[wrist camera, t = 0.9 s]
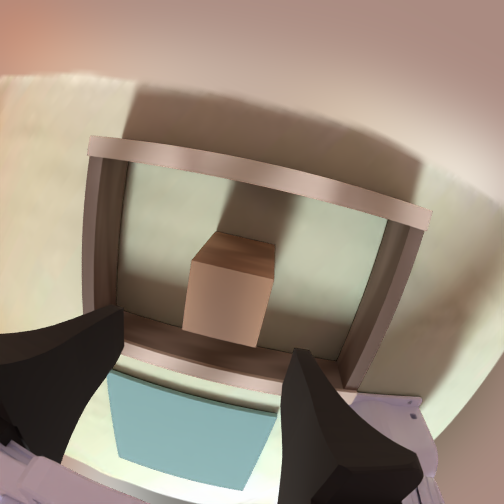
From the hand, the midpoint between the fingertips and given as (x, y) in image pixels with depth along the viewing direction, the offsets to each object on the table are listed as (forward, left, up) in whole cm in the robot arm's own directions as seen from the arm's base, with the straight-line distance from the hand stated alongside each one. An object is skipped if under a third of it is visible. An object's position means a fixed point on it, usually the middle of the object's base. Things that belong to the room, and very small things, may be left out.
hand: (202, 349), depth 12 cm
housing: (0, 0, -9) cm, 9 cm away
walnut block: (0, 0, -10) cm, 10 cm away
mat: (+2, +21, -9) cm, 23 cm away
